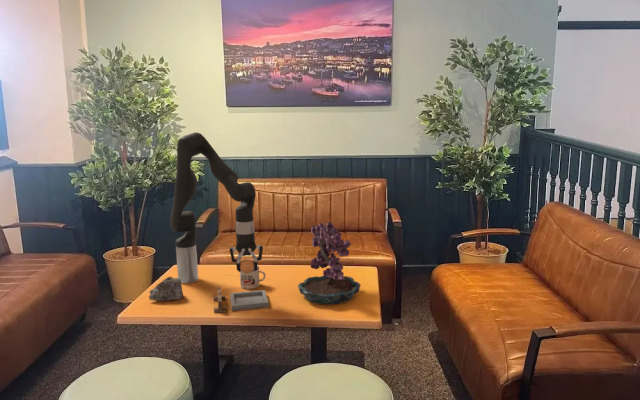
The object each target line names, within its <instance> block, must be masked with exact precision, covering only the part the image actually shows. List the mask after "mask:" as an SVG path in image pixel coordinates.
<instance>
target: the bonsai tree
mask: <svg viewBox="0 0 640 400" xmlns="http://www.w3.org/2000/svg"><path fill="white" fill-rule="evenodd" d="M310 232H311V235H313V234H314V235H313V236H312V241H311V242H312V243H311V245H312V247H313V248H317V247H318V248H319V250H318V251H317V254H316V256H315V257H314V258H313V259H311V261H310V268H311V269H312V270H313V269H315V270H318V269H320V268H321V269H323V271H322V275H321V276H309V277H307V278H306V279H304V280H303V282H299V284H298V285H297V288H298V291H299V293H300V294H301V295H303V296H304V298H305V299H306V300H307V301H309V302H311V303H314V304H317V305H328V306H330V305H339V304H343V303H348V302H349V301H351V300H352V299H353V298H354V296H355V295H356V294H359V292H360V289H361V283H360V282H358V281H355V279H354V278H353V277H352V276H346V275H344V272H343V270H344V265H343V264H342V261H340V260H341V258H342V257H348V256H349V255H350V251H349V249H348V248H350V246H351V245H352V243H351V241H350V240H349V239H346V240H343V239H342V233H341V232H339V231H338V230H337V228H336V227H335V225H334V224H333V223H332V222H331V221H329V222H326V224H325V223H324V222H320V223H319V224H318V225H315V224H314V225H312V226H311V227H310ZM336 252H337V253H336ZM335 253H336V254H337V255H336V254H335ZM340 257H341V258H340ZM328 266H329V267H328Z"/></svg>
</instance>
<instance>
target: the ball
mask: <svg viewBox="0 0 640 400" xmlns="http://www.w3.org/2000/svg"><path fill="white" fill-rule="evenodd" d="M253 269H254V260H251V259H250V258H244V259H243V260H241V261H240V270H241V271H242V272H243V273H246V274H248V273H251V272H252V271H253Z"/></svg>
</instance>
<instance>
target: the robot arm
mask: <svg viewBox="0 0 640 400" xmlns="http://www.w3.org/2000/svg"><path fill="white" fill-rule="evenodd" d="M200 154H201V155H203V156H204V157H205V158H206V159H207V161H208V163H209V167H210V171H211V174H212V176H213V177H214V178H215V179H216V180H217V181H218V182H219V183H221V184H222V185H223V186H224V188H225V190H226V192H227V193H228V195H229V196H230V198H231V199H232V200H234V201H235V202H239V203H240V204H239V206H237V207H236V209H235V237H236V240H235V241H236V244H235V246H233V247H232V246H229V248H228V249H229V253H230V254H229V255H230V259H231V262H232V263H234V264H236V265H235V266H236V271H237V272H238V273H240V263H241V261H242V260H241V259H242V258H243V257H245V256H248V257H250V256H251V258H252V259H253V263H254V271H256V269H257V268H258V266H259V265H258V262H259V261H261V260H262V258H263V251H264V247H263V245H262V244H256V238H255V236H256V235H255V223H254V213H253V212H254V207H255V200H256V197H257V196H256V194H257V192H256V188H255V185H253V183H251V182H242V183H239V182H238V180H239V176H238V174H237V173H236V172H235V171H234V170H233V169H232V168H231V167H229V166H228V164H227V163H226V162H224V160H223V159H222V158H221V157H220V156H219V154H218V153H217V151H216V150H215V149H214V147H213V146H212V145H211V143H210V142H209V141H208V140H207V138H205V136H204V135H203V134H201V132H192V133H189V134H186V135H184V136H180V137H179V138H178V141H177V145H176V155H177V156H176V162H177V163H176V173H175V174H176V175H175V182H174V184H175V185H174V197H173V202H172V204H173V205H172V208H171V214H170V220H169V221H170V223H169V224H170V229H171V231H172V232H173V233H184V232H185V233H184V234H183V235H182V236H180V237H179V238H177V239H176V240H175V255H176V267H177V278H180V281H181V284H191V283H195V282H198V281H199V265H198V254H197V232H196V230H197V229H196V226H197V223H196V215H195V214H194V212H193V211H191V210H188V211H184V209H185V208H186V206H187V205H188V204H189V203H190V202H191V201H192V199H193V198H194V196H195V195H196V193H197V187H198V179H197V176H196V174H195V173H194V171H193V170H192V167H191V165H192V164H191V163H192V162H191V161H192V158H193V157H197V156H198V155H200ZM256 249H257V251H258V256H256V254H255V251H256ZM236 251H237V252H238V254H237V257H236V258H235V254H234V253H235V252H236ZM257 265H258V266H257Z"/></svg>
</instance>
